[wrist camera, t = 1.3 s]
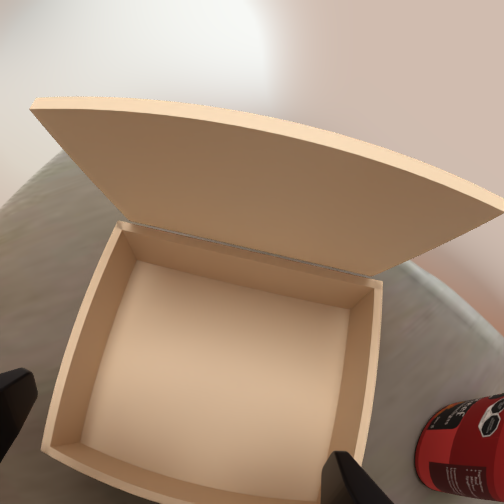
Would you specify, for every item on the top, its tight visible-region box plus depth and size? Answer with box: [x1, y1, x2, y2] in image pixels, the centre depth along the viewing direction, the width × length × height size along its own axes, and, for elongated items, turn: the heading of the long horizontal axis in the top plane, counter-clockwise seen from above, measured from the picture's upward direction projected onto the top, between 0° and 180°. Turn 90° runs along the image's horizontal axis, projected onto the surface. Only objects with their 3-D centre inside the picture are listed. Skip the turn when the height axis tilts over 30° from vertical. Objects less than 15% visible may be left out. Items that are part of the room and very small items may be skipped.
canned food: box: [415, 393, 504, 502], centre depth 13 cm, size 8×8×11 cm
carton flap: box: [30, 97, 504, 276], centre depth 13 cm, size 12×16×1 cm
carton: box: [41, 221, 383, 504], centre depth 18 cm, size 16×18×5 cm
